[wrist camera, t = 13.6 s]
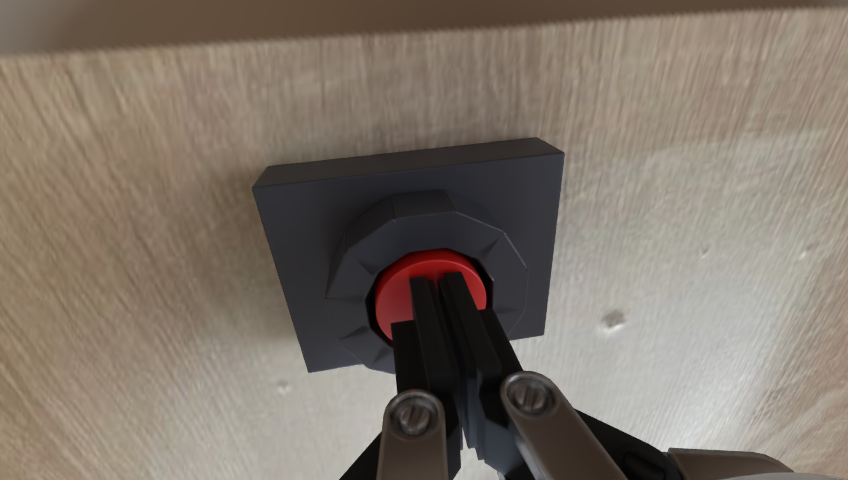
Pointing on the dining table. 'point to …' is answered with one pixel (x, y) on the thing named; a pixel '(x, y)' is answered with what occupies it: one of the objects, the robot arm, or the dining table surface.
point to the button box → (409, 236)
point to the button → (429, 263)
